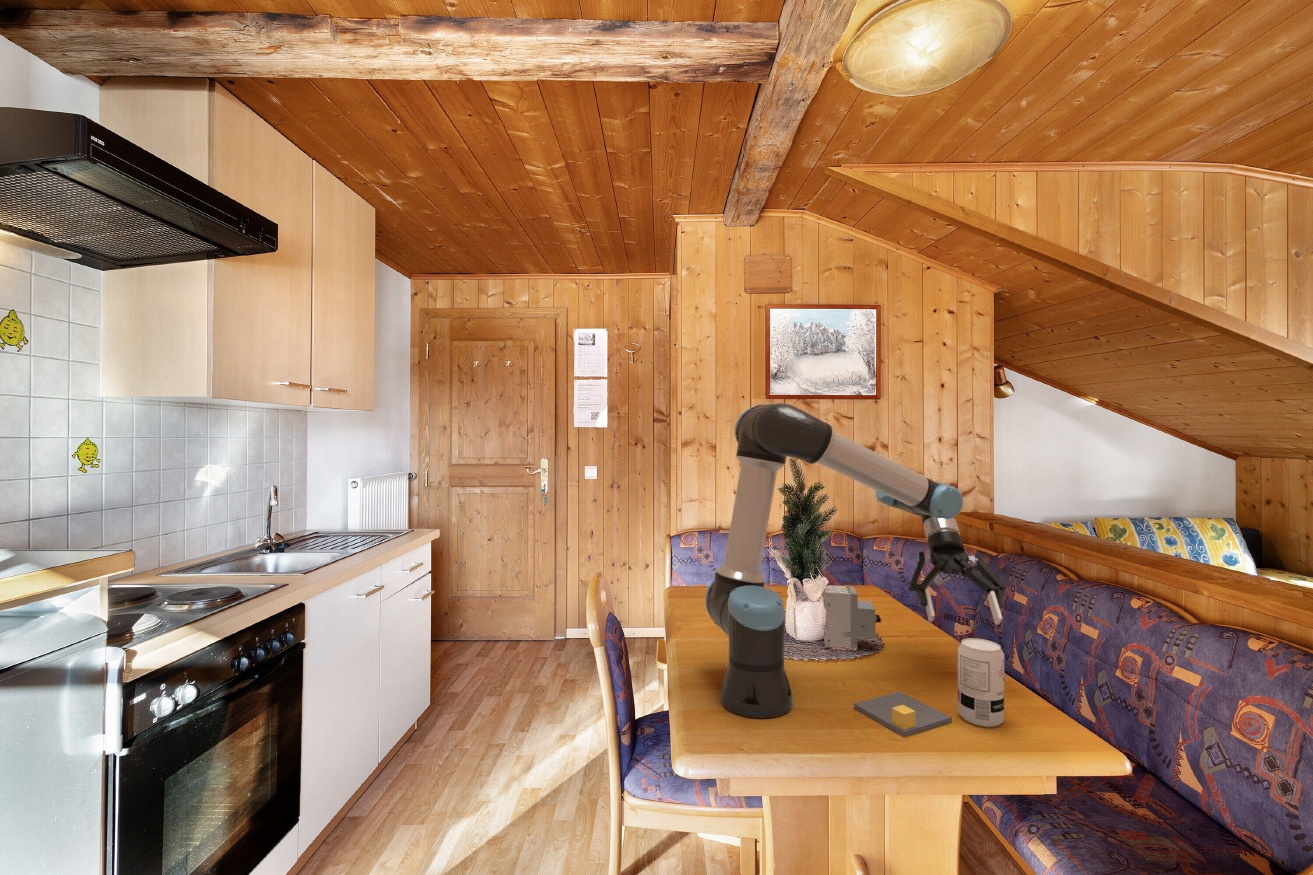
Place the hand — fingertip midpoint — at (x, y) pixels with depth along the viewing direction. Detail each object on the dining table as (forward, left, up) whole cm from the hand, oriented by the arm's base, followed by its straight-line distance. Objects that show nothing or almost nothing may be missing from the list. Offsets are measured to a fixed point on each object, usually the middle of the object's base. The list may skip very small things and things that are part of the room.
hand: (965, 620), depth 131 cm
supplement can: (-6, -8, -17) cm, 20 cm away
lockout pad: (-19, 0, -17) cm, 25 cm away
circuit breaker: (0, +34, -17) cm, 38 cm away
